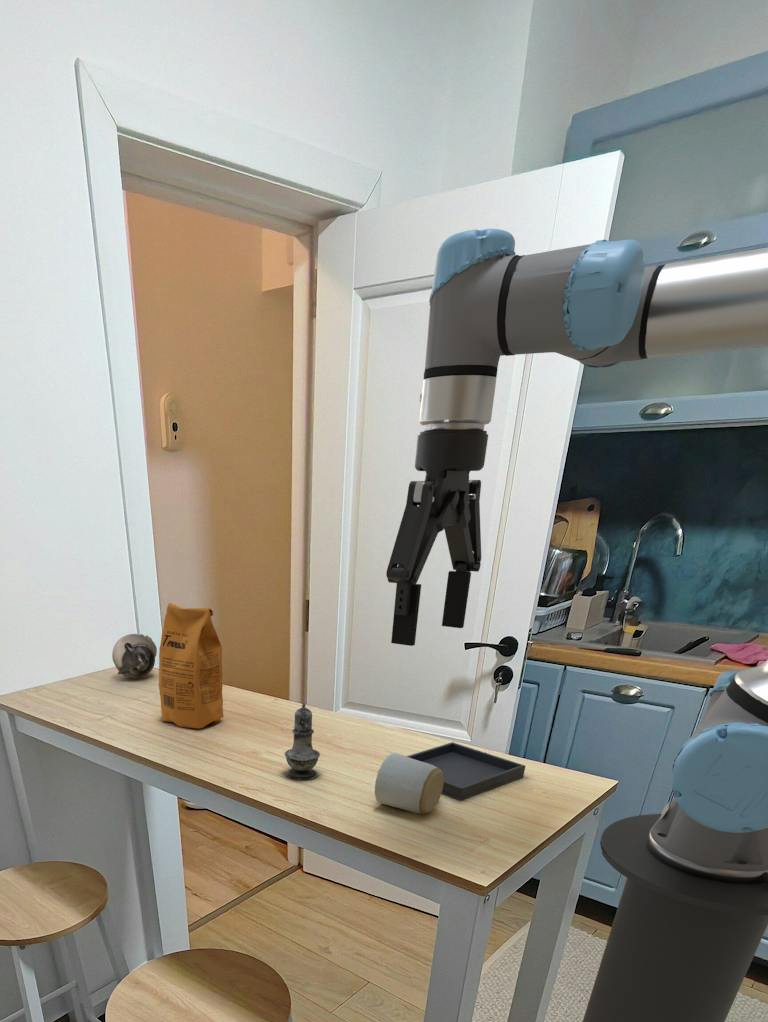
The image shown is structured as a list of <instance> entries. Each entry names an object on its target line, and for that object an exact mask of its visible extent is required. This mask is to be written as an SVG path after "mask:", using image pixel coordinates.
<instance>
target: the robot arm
mask: <svg viewBox="0 0 768 1022" xmlns="http://www.w3.org/2000/svg"><path fill="white" fill-rule="evenodd" d="M515 249H516V240H515V237H514V235H513V234H512V233H511V232H509V231H507V230H504V229H500V228H484V229H470V230H469V229H468V230H464V231H460V232H457V233H454V234H452V235H450V236H448V237H447V238H446V239H445V240H444V241H443V242H442V243H441V244H440V246H439V248H438V250H437V253H436V259H435V266H434V273H433V280H432V285H431V286H432V287H431V292H430V295H429V300H428V304H429V314H428V326H427V340H426V351H425V363H424V372H423V383H422V390H421V391H422V393H420V395H419V398H418V401H419V403H420V411H419V412H420V413H419V414H420V415H419V421H418V423H419V424H420V425H421V426H424V427H423V428H424V429H423V431H419V434H418V435H417V438H416V449H415V458H414V468H415V470H416V471H418V472H425V478H424V480H411V481H410V482H409V484H408V490H407V495H406V503H405V507H404V510H403V514H402V518H401V520H400V524H399V527H398V531H397V535H396V538H395V541H394V543H393V549H392V552H391V555H390V558H389V561H388V564H387V568H386V574H385V575H386V578H387V582H388V583H391V584H392V583H393V584H396V587H395V589H396V590H395V598H394V607H393V608H394V609H393V618H392V619H393V620H392V629H391V641H390V644H393V645H394V644H395V645H402V646H410V647H413V646H415V645H416V636H417V629H418V620H419V619H418V618H419V609H420V600H421V590H422V583H421V584H420V583H418V581H419V579H420V576H421V574H422V572H423V570H424V567H425V564H426V563H427V560H428V558H429V555H430V553H431V551H432V549H433V546H434V544H435V542H436V539H437V537H438V535H439V533H441V532H442V531H443V530H444V532H445V538H446V543H447V547H448V553H449V558H450V562H451V566H452V569H453V570H449V571H448V573H447V581H446V590H445V598H444V605H443V612H442V620H441V627H446V628H454V629H455V628H456V629H463V628H464V627H465V619H466V612H467V605H468V598H469V593H470V592H469V591H470V585H471V577H472V572H475V573H476V572H477V573H478V572H480V568H481V565H482V563H481V562H482V537H481V534H482V533H481V507H480V504H481V503H480V500H481V490H482V480H481V479H470V473H471V472H479V471H481V470H483V468H484V467H485V461H486V456H487V455H486V454H487V447H488V442H489V433H488V431H487V430H485V426H486V425H489V424H490V423H491V422H492V417H493V416H492V415H493V407H494V401H495V394H496V385H497V376H498V370H499V369H498V367H499V362H500V359H501V357H503V356H505V357H508V356H516V355H517V356H518V355H530V354H531V355H532V354H548V353H549V354H550V353H555V354H558V355H561V356H564V357H567V358H570V359H573V360H575V361H577V362H579V363H580V364H582V365H583V366H585V367H588V368H591V369H598V368H599V369H604V368H605V369H606V368H610V367H614V366H617V365H619V364H622V363H623V362H633V361H640V360H644V359H656V358H666V357H667V358H668V357H675V356H687V355H698V354H707V353H709V354H710V353H718V352H729V351H738V350H739V351H740V350H750V349H758V348H768V246H767V247H762V248H755V249H748V250H742V251H736V252H731V253H724V254H718V255H711V256H706V257H705V256H704V257H700V258H693V259H688V260H681V261H675V262H669V263H665V264H660V265H650V266H645V259H644V249H643V247H642V245H641V243H640V242H639V241H638V240H635V239H622V240H613V241H612V240H611V241H609V240H608V239H600V240H596V241H595V242H592V243H589V244H583V245H576V246H572V247H571V246H570V247H565V248H560V249H559V248H558V249H554V250H548V251H541V252H536V253H531V254H523V255H519V254H516V252H515ZM673 762H674V763H673V764H672V768H671V769H672V772H671V789H672V793H673V796H674V798H673V799H672V800H671V802H670V801H668V802H667V803H666V805H665V806H664V807H663V809H662V811H661V814H662V815H661V816H660V817H659V819H658V820H657V821H656V823H655V824H654V825H653V827H652V828H651V830H650V833H649V837H648V840H647V848H648V850H649V852H650V853H651V854H652V855H653V856H654V857H655V858H657V859H658V860H659V861H661V862H662V863H664V864H666V865H668V866H669V867H672V868H674V869H676V870H678V871H681V872H683V873H686V874H689V875H692V876H695V877H699V878H703V879H707V880H712V881H717V882H724V883H733V884H756V883H763V882H765V883H766V885H767V886H768V658H767V659H766V661H765V662H763V663H761V664H759V665H756V666H753V667H750V668H746V669H744V670H743V669H732V670H726V671H724V672H722V673H720V674H719V675H718V677H717V678H716V681H715V683H714V686H713V688H711V689H710V691H709V700H708V704H707V706H706V710H705V712H704V715H703V717H702V720H701V721H700V722H699V724H698V726H697V727H696V729H695V730H694V731H693V732H692V734H691V736H690V738H689V739H688V740H687V741H686V742H684V744H683V745H682V747H680V749H679V750H678V751H677V754H676V756H675V758H674V760H673Z"/></svg>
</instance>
